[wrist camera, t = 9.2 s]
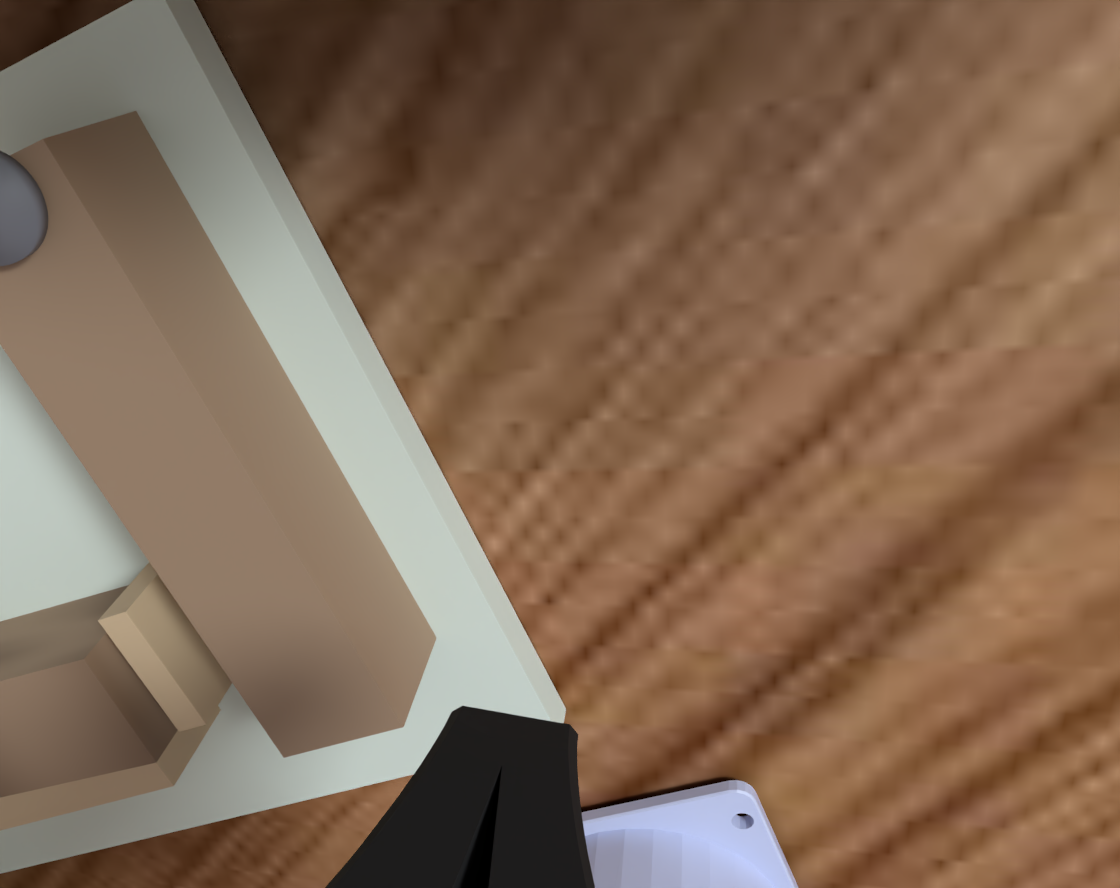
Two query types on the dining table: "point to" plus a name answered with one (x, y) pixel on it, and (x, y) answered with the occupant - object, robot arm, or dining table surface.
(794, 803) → the dining table surface
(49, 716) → the folding leg
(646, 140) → the dining table surface
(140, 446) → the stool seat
